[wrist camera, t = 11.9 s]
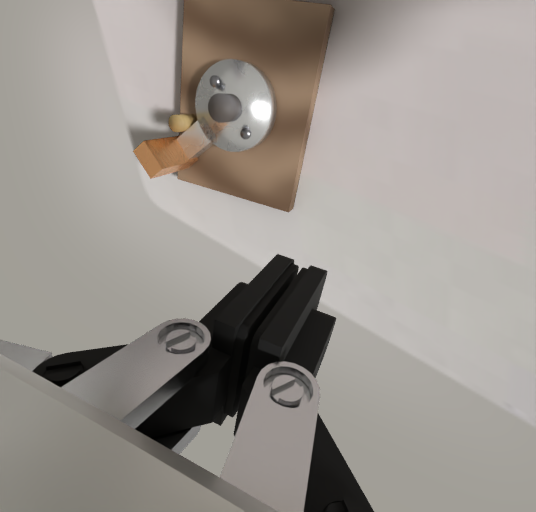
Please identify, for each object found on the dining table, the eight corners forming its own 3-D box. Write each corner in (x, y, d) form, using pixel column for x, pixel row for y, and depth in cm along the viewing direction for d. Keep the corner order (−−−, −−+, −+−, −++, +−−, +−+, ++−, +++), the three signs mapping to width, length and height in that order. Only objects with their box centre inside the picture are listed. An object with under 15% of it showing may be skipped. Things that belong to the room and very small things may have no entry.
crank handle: (247, 40, 31) (211, 27, 25) (292, 120, 32) (266, 124, 27) (160, 124, 37) (117, 127, 32) (200, 187, 39) (165, 200, 33)
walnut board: (193, -8, 32) (155, -27, 28) (334, 9, 29) (317, -10, 24) (185, 176, 41) (154, 185, 36) (293, 208, 37) (274, 223, 32)
